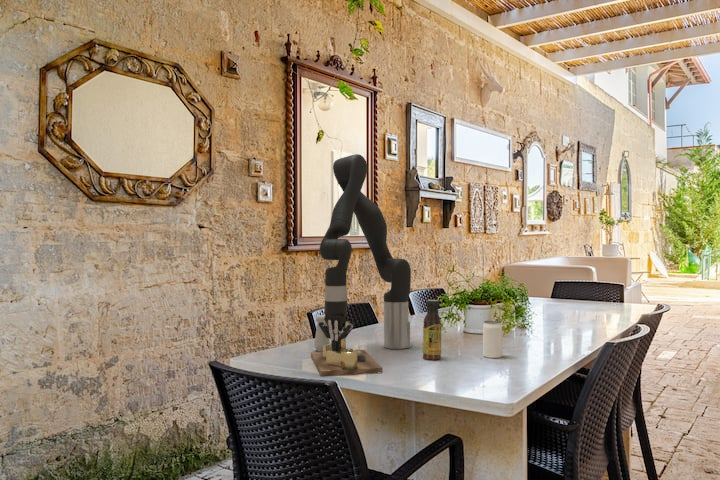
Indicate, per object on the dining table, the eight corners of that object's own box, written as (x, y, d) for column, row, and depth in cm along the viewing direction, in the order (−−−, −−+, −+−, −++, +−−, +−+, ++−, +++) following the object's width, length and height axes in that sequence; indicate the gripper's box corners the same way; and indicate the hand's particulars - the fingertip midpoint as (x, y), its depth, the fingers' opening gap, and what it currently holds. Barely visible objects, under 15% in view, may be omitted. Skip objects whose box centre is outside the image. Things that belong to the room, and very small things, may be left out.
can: (503, 355, 204) (503, 320, 204) (501, 359, 198) (501, 323, 198) (484, 354, 206) (484, 320, 206) (482, 358, 200) (481, 322, 200)
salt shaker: (327, 352, 212) (327, 316, 212) (312, 352, 213) (312, 316, 213) (331, 349, 218) (331, 314, 218) (316, 349, 219) (316, 314, 219)
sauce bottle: (429, 361, 196) (428, 301, 196) (419, 357, 202) (418, 299, 201) (445, 359, 199) (445, 300, 199) (435, 355, 205) (434, 298, 204)
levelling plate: (364, 353, 209) (364, 340, 209) (382, 372, 181) (382, 357, 181) (311, 356, 206) (310, 343, 206) (320, 376, 177) (320, 360, 177)
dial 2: (360, 367, 181) (360, 349, 181) (350, 370, 177) (350, 351, 177) (332, 362, 189) (332, 344, 188) (322, 365, 185) (322, 347, 185)
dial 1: (336, 351, 206) (336, 335, 206) (348, 352, 203) (348, 336, 203) (318, 357, 196) (317, 340, 196) (330, 359, 193) (330, 341, 193)
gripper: (359, 299, 194) (359, 351, 195) (325, 297, 201) (325, 347, 201) (347, 301, 188) (347, 355, 188) (312, 299, 194) (313, 351, 195)
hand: (336, 351), depth 195 cm, fingers closed
